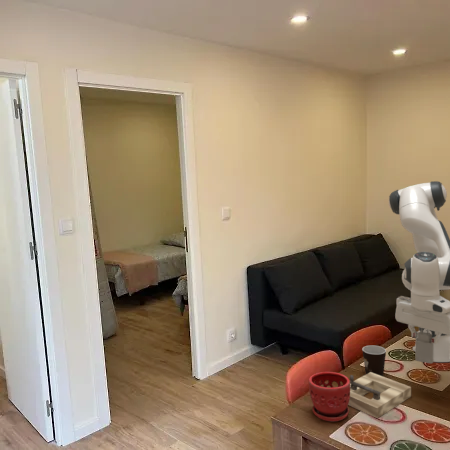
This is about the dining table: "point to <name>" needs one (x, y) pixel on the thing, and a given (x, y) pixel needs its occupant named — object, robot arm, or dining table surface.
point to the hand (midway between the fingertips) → (424, 340)
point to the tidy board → (377, 394)
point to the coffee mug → (374, 359)
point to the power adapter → (424, 347)
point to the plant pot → (330, 396)
